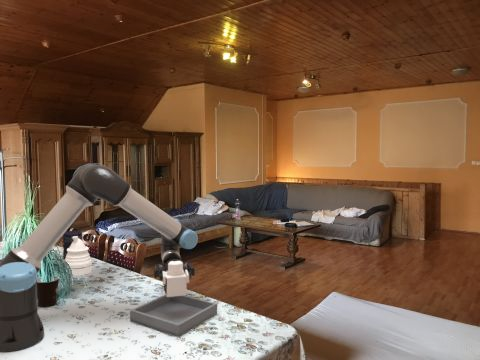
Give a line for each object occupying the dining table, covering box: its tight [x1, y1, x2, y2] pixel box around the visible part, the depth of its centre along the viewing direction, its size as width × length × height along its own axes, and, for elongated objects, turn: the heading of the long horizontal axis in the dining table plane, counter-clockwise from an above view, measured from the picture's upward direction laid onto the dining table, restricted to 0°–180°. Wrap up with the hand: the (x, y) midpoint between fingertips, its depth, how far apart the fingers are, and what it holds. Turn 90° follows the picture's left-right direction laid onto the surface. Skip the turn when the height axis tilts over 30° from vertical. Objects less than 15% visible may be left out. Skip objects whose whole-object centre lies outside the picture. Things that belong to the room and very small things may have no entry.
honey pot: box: [65, 236, 93, 277], centre depth 194 cm, size 13×13×18 cm
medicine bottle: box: [163, 259, 188, 297], centre depth 142 cm, size 7×7×12 cm
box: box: [129, 294, 218, 338], centre depth 143 cm, size 22×22×4 cm
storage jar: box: [62, 230, 83, 259], centre depth 217 cm, size 10×10×15 cm
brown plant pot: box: [37, 275, 60, 308], centre depth 155 cm, size 12×9×10 cm
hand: (176, 279), depth 138 cm, fingers closed on medicine bottle, 7 cm apart
